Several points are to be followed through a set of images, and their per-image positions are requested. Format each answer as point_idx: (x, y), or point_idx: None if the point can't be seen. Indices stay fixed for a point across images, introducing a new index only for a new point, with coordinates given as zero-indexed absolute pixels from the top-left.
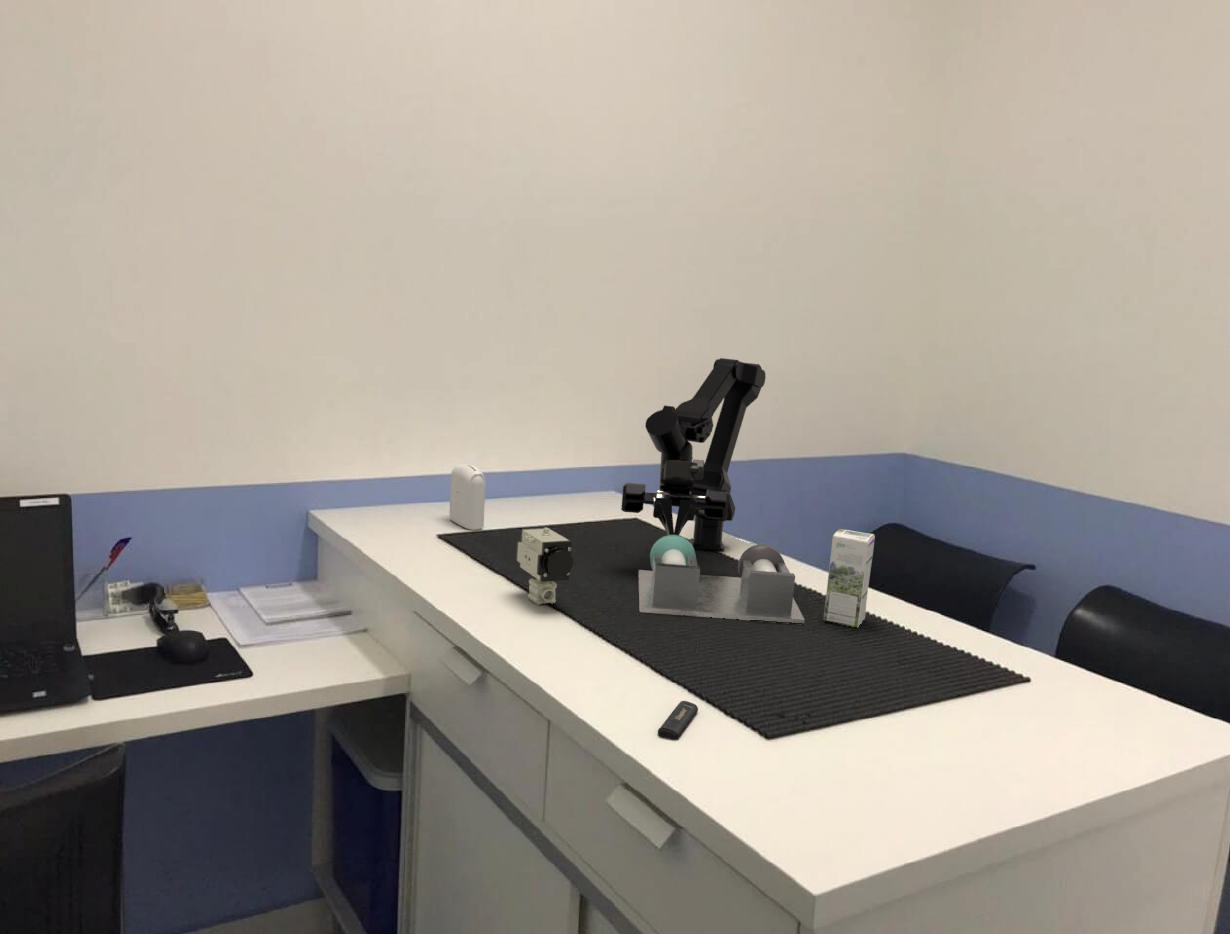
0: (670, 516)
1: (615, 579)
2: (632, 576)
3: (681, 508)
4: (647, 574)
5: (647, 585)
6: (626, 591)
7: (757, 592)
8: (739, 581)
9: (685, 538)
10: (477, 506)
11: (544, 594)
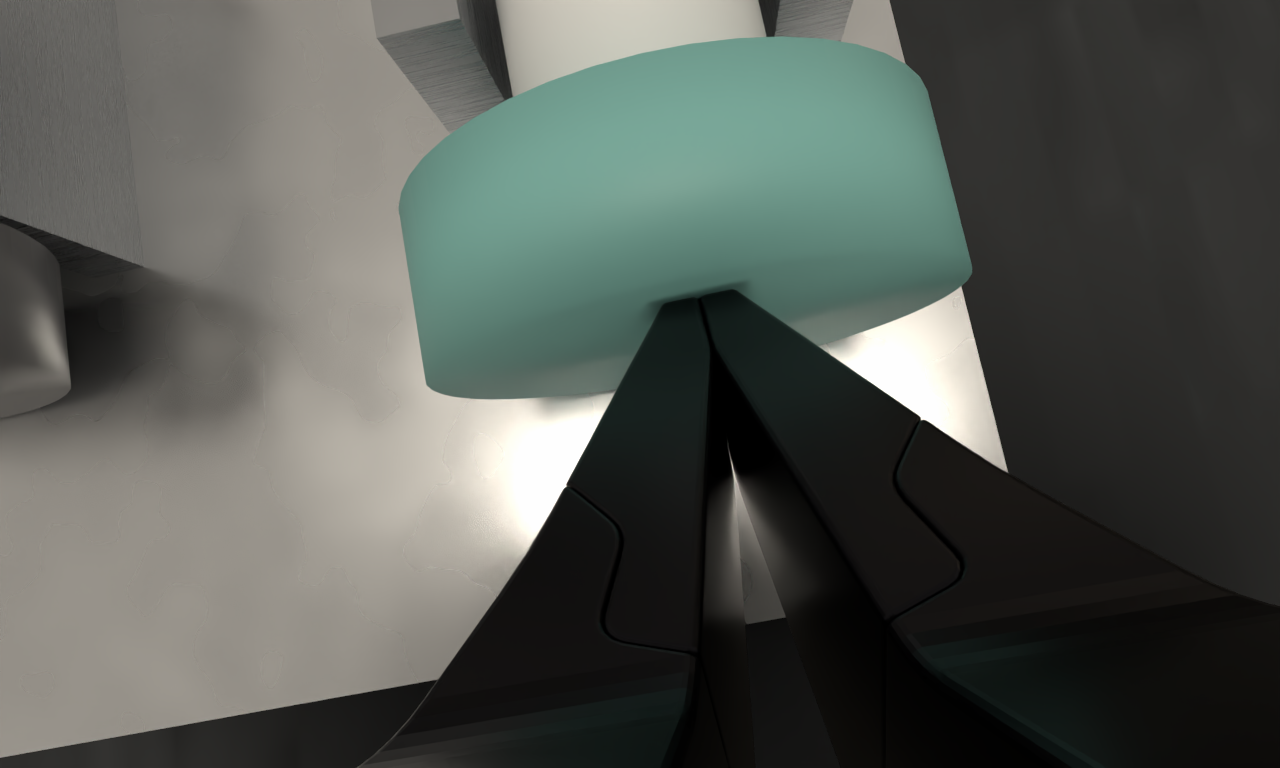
0: (892, 532)
1: (1162, 323)
2: (1048, 479)
3: (566, 753)
4: None
5: None
6: (988, 49)
7: None
8: (149, 601)
9: (511, 323)
10: None
11: None
